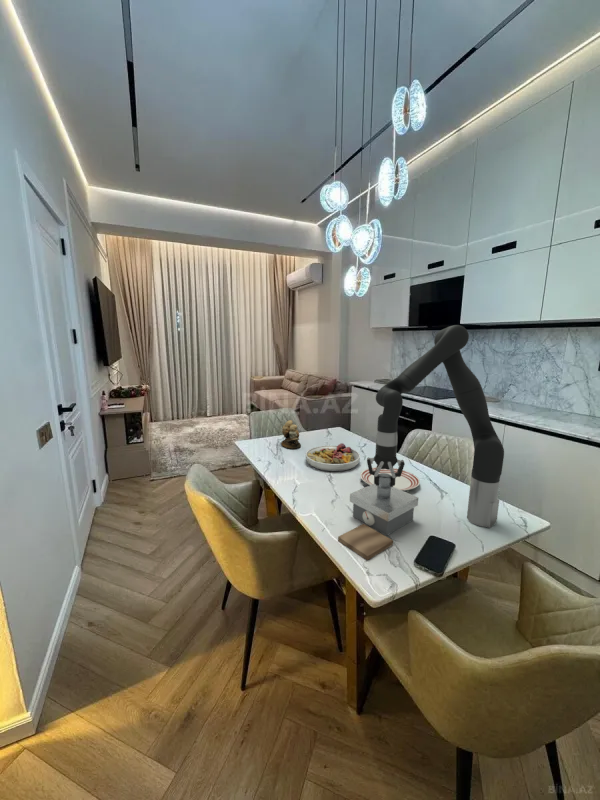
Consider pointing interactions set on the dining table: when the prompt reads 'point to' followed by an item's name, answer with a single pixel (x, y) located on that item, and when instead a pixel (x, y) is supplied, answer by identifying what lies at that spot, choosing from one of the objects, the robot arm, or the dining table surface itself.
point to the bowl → (333, 457)
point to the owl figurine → (290, 436)
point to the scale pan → (384, 502)
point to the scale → (382, 520)
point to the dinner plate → (401, 483)
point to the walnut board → (365, 541)
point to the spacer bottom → (383, 493)
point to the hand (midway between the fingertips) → (384, 485)
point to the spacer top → (384, 480)
